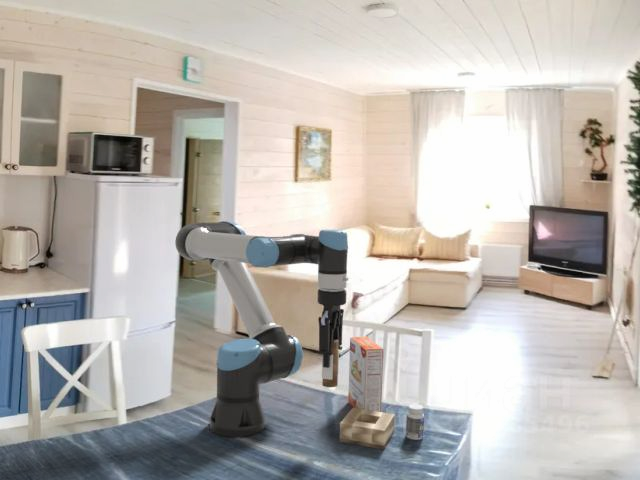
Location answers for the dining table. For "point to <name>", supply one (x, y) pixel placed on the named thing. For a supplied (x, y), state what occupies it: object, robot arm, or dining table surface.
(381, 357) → the cracker box
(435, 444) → the dining table surface
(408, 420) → the pill bottle
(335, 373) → the pin
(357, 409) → the bore block
